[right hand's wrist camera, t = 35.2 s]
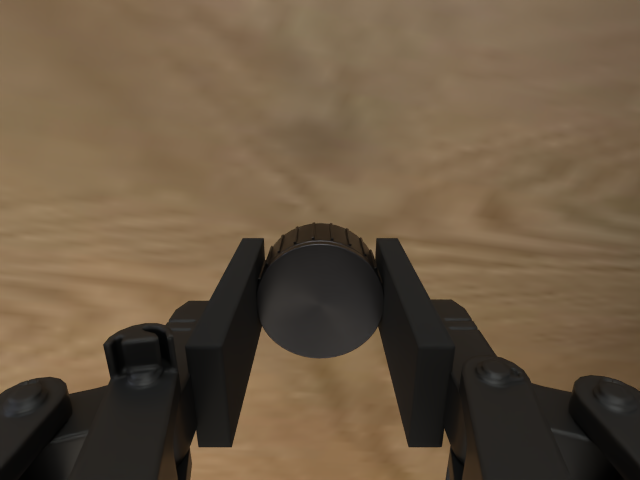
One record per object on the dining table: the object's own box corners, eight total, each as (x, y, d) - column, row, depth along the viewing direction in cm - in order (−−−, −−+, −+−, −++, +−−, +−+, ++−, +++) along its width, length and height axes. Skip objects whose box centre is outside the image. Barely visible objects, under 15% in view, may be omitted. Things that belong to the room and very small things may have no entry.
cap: (387, 312, 15) (397, 345, 13) (280, 335, 15) (274, 371, 13) (364, 209, 14) (372, 228, 12) (247, 237, 14) (236, 260, 12)
